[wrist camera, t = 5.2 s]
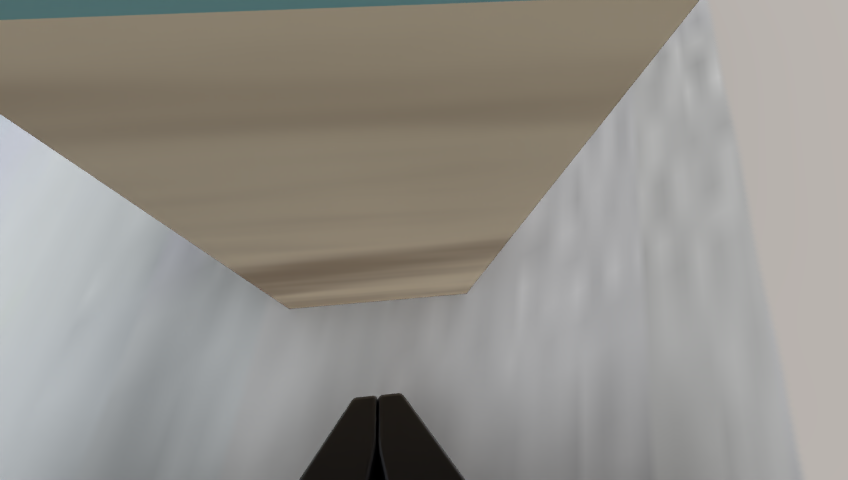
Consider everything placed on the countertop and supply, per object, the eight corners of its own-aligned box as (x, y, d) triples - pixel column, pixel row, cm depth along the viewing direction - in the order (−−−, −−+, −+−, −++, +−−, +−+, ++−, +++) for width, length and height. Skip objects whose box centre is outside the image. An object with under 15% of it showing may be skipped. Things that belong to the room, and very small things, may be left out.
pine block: (466, 293, 16) (784, -106, 3) (289, 308, 16) (-297, -85, 2) (447, 137, 18) (595, -573, 5) (286, 147, 18) (-72, -614, 4)
